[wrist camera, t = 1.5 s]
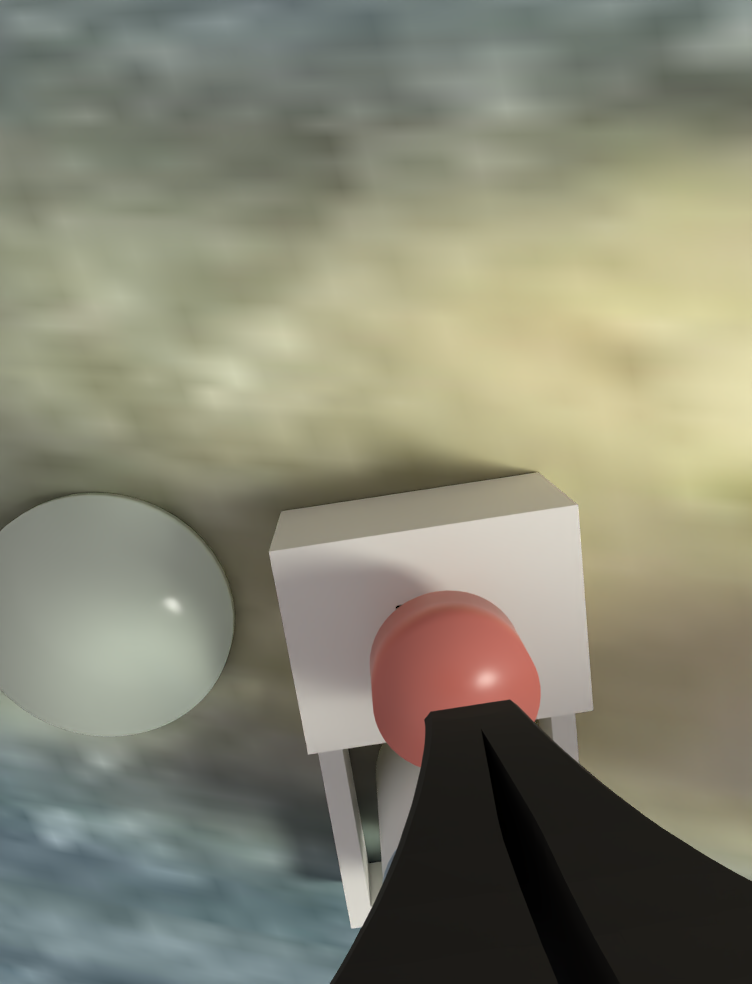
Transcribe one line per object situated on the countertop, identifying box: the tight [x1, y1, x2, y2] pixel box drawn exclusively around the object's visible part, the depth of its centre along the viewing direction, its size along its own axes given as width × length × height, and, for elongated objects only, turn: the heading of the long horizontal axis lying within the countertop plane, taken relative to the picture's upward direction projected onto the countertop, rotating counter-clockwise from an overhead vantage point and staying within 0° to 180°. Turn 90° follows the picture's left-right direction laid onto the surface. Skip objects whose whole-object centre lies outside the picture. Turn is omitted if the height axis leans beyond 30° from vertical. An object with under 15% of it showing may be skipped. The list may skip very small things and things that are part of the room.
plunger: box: [370, 590, 541, 767], centre depth 14 cm, size 3×3×4 cm
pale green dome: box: [0, 492, 235, 737], centre depth 18 cm, size 6×6×1 cm
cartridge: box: [376, 743, 421, 884], centre depth 16 cm, size 4×4×6 cm
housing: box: [269, 472, 593, 929], centre depth 17 cm, size 11×6×3 cm, turn 8°
